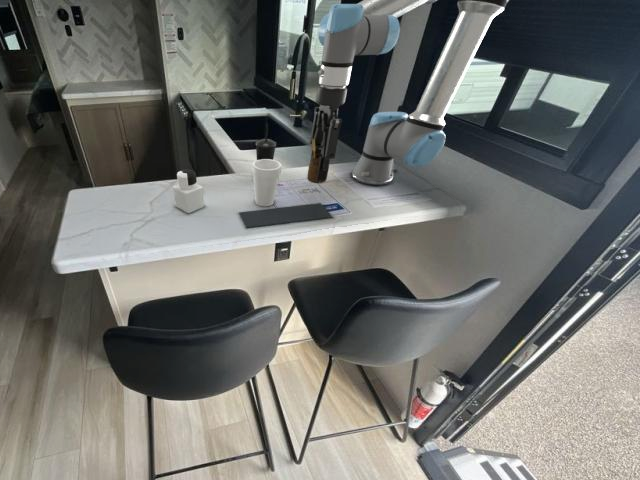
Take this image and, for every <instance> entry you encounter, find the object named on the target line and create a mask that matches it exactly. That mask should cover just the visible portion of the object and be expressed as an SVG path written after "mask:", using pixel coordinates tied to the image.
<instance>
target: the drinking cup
mask: <svg viewBox="0 0 640 480" xmlns="http://www.w3.org/2000/svg"><path fill="white" fill-rule="evenodd" d="M268 130H269V124H268V123H265V135H264V138H262V139H259V140H257V141H255V143H254V144H255V151H256V153H255V154H256V161H257V160H261V159H271V160H274V156H275V152H276V147H277V142H276V141H274V140H272V139H270V138H268Z"/></svg>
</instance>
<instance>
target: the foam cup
mask: <svg viewBox="0 0 640 480" xmlns="http://www.w3.org/2000/svg"><path fill="white" fill-rule="evenodd" d="M251 165H252V167H251V173H252V178H253V179H252V181H253V190H254V200H255V204H256V205H258V206H260V207H269V206H272V205H274V202H275V197H276V193H277V189H278V184H279V180H280V175H281V173H282V165H283V164H282V163H281V162H280V161H279V160H276V159H273V160H271V159H261V160H257V159H256V160H255V161H253V162H252V164H251Z"/></svg>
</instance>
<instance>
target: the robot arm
mask: <svg viewBox="0 0 640 480" xmlns="http://www.w3.org/2000/svg"><path fill="white" fill-rule="evenodd" d="M437 1H438V0H361V1H360V2H358V3H335V4H333V5H331V7H330V8H329V10H328V11H329V12H328V13H327V14H325V15H324V16H322V17H323V18H322V19H321V21H320V23H319V25H318V31H317V36H318V37H317V38H318V41H319V43H320V45H321V46H323V48H322V55H321V61H320V68H319V69H320V70H318V71H317V73H318V75H319V76H318V84H319V85H318V86H317V88H316V96H315V103H316V104H317V105H319V106H315V107H314V113H313V115H314V116H313V122H312V126H311V133H310V140H309V144H310V145H312V138H313V139H314V140H315V147H316V151H315V154H322V157H319V158H320V161H319V167H318V173H317V178H316V180H317V181H325V182H327V179H326V177H327V178H328V175H327V171H328V172H329V170H328V166H329V167H330V161H331V159H332V160H333V159H335V158H336V153H337V148H338V147H337V146H338V140H339V136H340V129H341V126H342V123H343V119H342V118H338V116H339V108H340V107H341V106H343V105H344V104H345V102H346V98H347V92H348V88H347V86H348V85H349V84H350V79H351V73H352V69H353V64H354V60H355V57H357V56H374V55H375V56H379V55H384V54H387V53H389V52H390V51H392V49H393V48H394V47H395V46H396V44H397V42H398V39H399V36H400V31H401V27H400V21H399V19H398V18H399V17H401V16H403V15H405V14H407V13H409V12H411V11H412V10H415V9H416V8H417V7H420V6H421V5H423V4H427V5H431V4H433V3H436V2H437ZM508 3H509V0H458V1H457V3H456V5H457V8H458V15H457V17H456V20H455V22H454V24H453V27H452V28H451V31H450V33H449V35H448V37H447V39H446V42H445V44H444V46H443V48H442V50H441V53H440V55H439V58H438V59H437V61H436V64H435V66H434V69H433V71H432V73H431V76H430V77H429V79H428V82H427V84H426V86H425V89H424V91H423V92H422V95H421V98H420V100H419V102H418V104H417V106H416V109H415V110H414V111H413V112H410V114H408V113H407V112H403V111H379V112H376V113H374V114H373V115H372V117H371V119H370V123H369V125H368V128H367V132H366V136H365V141H364V145H363V149H362V153H361V156H360V157H359V159H358V161H357V163H356V165H355V166H354V168H353V170H352V172H351V177H352V178H353V179H354V181H356V182H358V183H361V184H364V185H368V186H369V185H370V186H386V185H389V184H391V182H392V181H393V178H394V172H397V171H398V168H394V159H396V160H398V161H400V162H403V163H404V164H406V165H409V166H412V167H416V168H418V167H423V166H426V165H427V164H429V163H430V162H431V161H433V160H434V159H435V158H436V157H437V156H438V154H439V153H440V152H441V151H442V149H443V148H444V146H445V143H446V134H445V132H444V131H443V130H444V129H445V125H446V121H445V120H444V117H445V115H446V113H447V111H448V109H449V107H450V105H451V103H452V101H453V99H454V97H455V95H456V93H457V91H458V89H459V87H460V85H461V83H462V81H463V79H464V77H465V75H466V74H467V71H468V69H469V67H470V65H471V63H472V61H473V59H474V57H475V56H476V53H477V51H478V49H479V47H480V45H481V43H482V41H483V39H484V37H485V36H486V33H487V31H488V29H489V27H490V25H491V23H492V21H493V19H494V18H495V17H496V16H498V15H499V14H502V13H503V11H505V8H506V6H507V4H508ZM312 155H314V151H313V148H312V147H311V153H310V160H309V161H310V162H311V158H312ZM310 162H309V163H310Z"/></svg>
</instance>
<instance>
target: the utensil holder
mask: <svg viewBox="0 0 640 480" xmlns="http://www.w3.org/2000/svg"><path fill="white" fill-rule="evenodd" d="M312 148H313V149H312ZM311 149H312V150H313V151H314V155H312V158H311V157H310V160H311V162H309V165H308V168H307V176H306V179H307V181H308V182H310V183H312V184H319V185H320V184H324V183H326V181H317V180H316V178H317V173H318V167H319V161H320V158H319V157H322V153H321V154H315V151H316V147H315V140H314V139H313V138H312V144H311ZM329 169H330V165H329V166H328V171H327V177H326V180H327V179H328V175H329V171H330V170H329Z"/></svg>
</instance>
